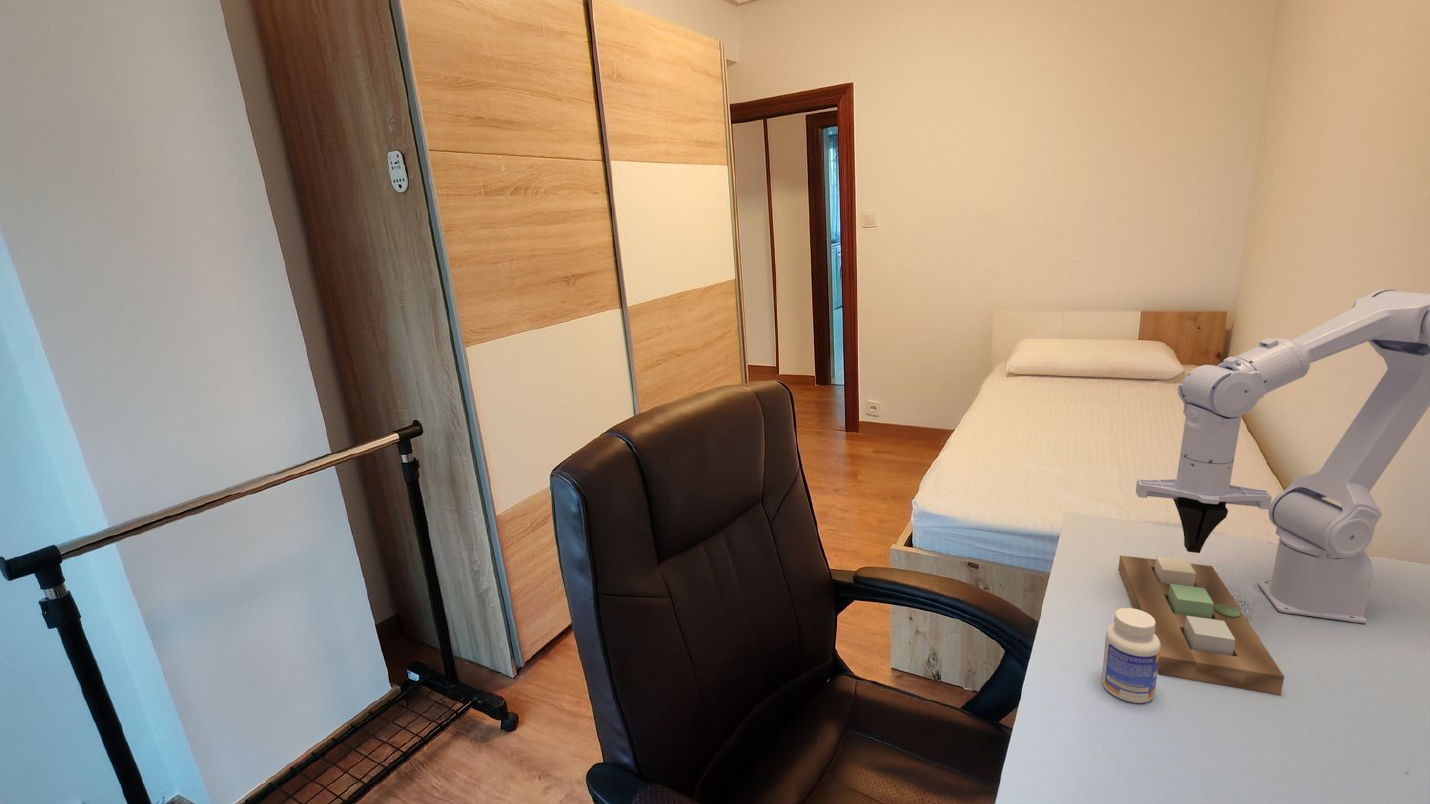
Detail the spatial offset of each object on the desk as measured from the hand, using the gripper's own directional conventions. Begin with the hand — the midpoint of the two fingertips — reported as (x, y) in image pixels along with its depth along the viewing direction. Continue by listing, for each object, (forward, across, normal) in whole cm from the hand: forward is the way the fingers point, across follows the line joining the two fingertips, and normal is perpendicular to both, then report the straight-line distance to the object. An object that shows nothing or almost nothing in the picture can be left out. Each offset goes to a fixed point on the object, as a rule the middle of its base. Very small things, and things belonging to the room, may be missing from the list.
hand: (1191, 549), depth 89 cm
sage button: (+8, 0, -3) cm, 9 cm away
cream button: (+8, 0, +5) cm, 9 cm away
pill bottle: (+10, -10, -20) cm, 25 cm away
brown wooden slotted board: (+10, 0, -3) cm, 10 cm away
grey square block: (+8, 0, -11) cm, 14 cm away
